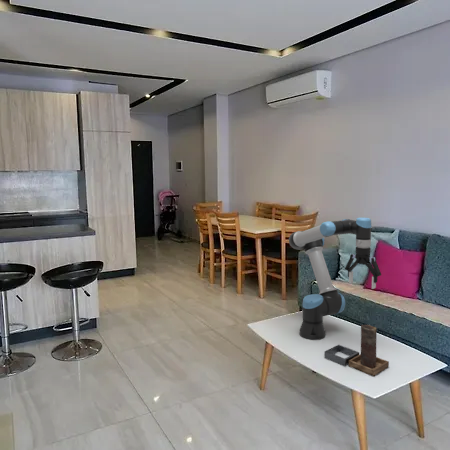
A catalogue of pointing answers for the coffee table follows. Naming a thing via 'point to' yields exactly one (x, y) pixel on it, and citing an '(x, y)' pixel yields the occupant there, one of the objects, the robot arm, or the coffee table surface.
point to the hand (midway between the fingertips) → (362, 285)
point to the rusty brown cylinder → (368, 346)
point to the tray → (357, 365)
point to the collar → (342, 361)
